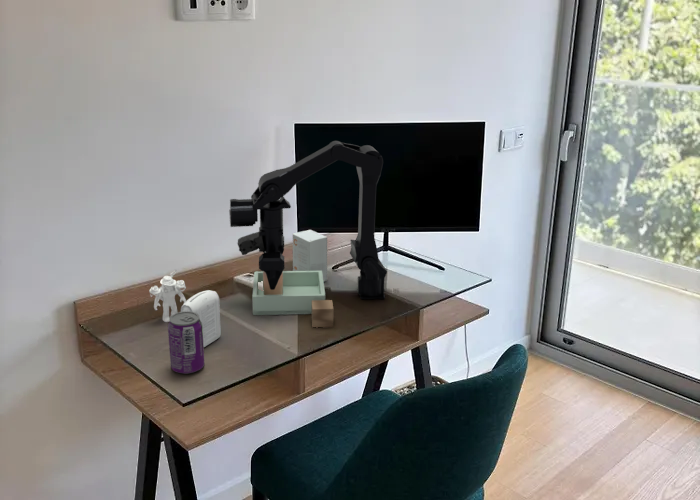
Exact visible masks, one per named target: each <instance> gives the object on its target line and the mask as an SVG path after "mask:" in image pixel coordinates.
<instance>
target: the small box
mask: <svg viewBox="0 0 700 500" xmlns="http://www.w3.org/2000/svg"><path fill="white" fill-rule="evenodd" d="M292 271H322V275H323V282H327V281H328V236H326V235H323V234H321V233H319V232H317V231H315V230H312V229H308V230H302V231H298V232H294V233H292Z"/></svg>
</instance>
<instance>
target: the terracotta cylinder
mask: <svg viewBox="0 0 700 500" xmlns="http://www.w3.org/2000/svg"><path fill="white" fill-rule="evenodd" d="M263 290H264V295H283V272H282V274H281V276H280V278H279V281H278V283H277V285H276V287H275V289H274V290H271V289H270V286H269V283H268V279H267V275H266V273H265V272H263Z"/></svg>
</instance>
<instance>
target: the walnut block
mask: <svg viewBox="0 0 700 500" xmlns="http://www.w3.org/2000/svg"><path fill="white" fill-rule="evenodd" d="M333 305H334V304H333V300H332V299H331V300H330V299H325V300H312V314H311V326H312V329H314V328H313V327H316V328H318V327H323V328H334V306H333ZM316 328H315V329H316Z"/></svg>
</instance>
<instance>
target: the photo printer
mask: <svg viewBox="0 0 700 500" xmlns="http://www.w3.org/2000/svg"><path fill="white" fill-rule="evenodd" d="M220 304H221V303H220V296H219V294H218V293H217V291H215V290H212V289H211V290H209V289H207V290H203V291H200V292H197V293H196V294H194V295H192V296H191V297H189V298H188V299H186V302H185V303H184V302H183V304H182V305H181V307H180V312H184V311H189V312H195V313H197V314H198V315H199V317H200V321H201V322H202V330H203V346H204V348H205V347H207V346H209V345H210V344H211V343H213V342H215V341H216V340H217V339H219V338H221V333H222V332H221V306H220Z"/></svg>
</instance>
